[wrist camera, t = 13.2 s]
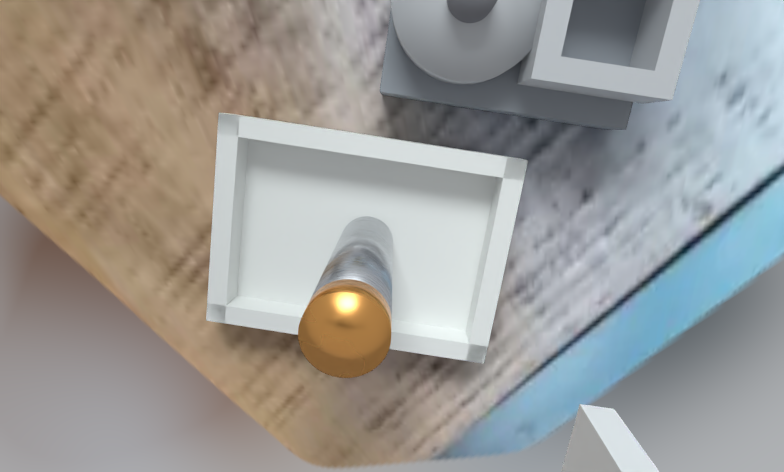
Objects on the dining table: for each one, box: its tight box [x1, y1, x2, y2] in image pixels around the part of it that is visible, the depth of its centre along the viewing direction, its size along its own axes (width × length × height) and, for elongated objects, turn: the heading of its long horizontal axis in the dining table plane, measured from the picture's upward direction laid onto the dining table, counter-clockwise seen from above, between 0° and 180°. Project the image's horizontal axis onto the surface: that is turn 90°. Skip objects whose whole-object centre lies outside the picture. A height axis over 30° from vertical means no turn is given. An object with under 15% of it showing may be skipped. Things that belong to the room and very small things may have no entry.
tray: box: [206, 113, 528, 364], centre depth 29 cm, size 18×13×2 cm
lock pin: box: [298, 216, 393, 378], centre depth 23 cm, size 3×3×13 cm
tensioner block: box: [380, 0, 700, 130], centre depth 24 cm, size 14×10×6 cm
